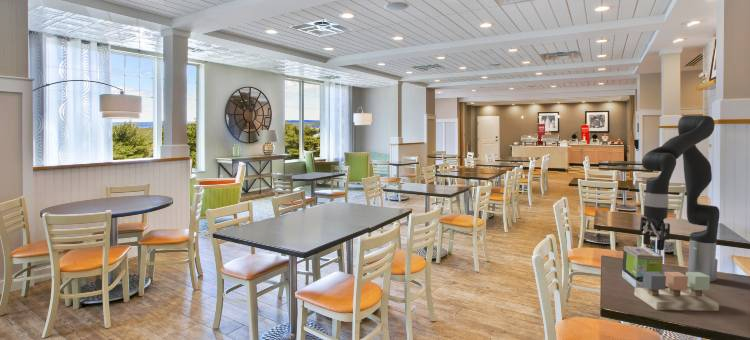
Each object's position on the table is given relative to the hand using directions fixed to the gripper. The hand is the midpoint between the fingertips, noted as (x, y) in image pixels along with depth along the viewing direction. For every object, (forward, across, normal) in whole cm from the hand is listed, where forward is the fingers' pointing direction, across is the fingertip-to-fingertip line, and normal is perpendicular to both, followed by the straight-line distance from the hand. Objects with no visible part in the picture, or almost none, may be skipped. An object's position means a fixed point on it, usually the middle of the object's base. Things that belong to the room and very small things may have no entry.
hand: (653, 247), depth 156 cm
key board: (+21, 0, -9) cm, 23 cm away
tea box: (+21, +20, -8) cm, 30 cm away
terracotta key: (+15, 0, -9) cm, 18 cm away
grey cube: (+15, 0, -1) cm, 16 cm away
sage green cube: (+15, 0, -17) cm, 23 cm away
